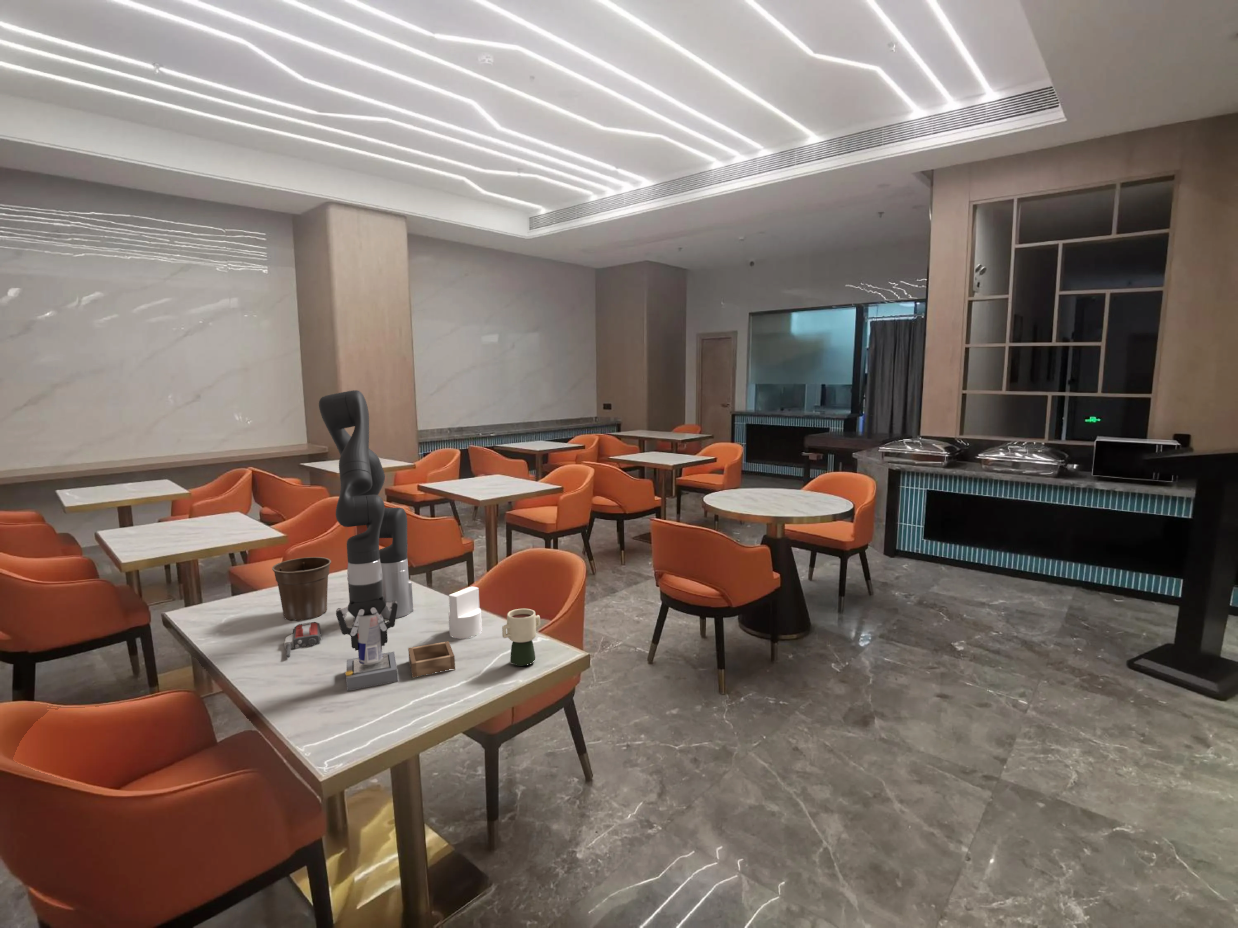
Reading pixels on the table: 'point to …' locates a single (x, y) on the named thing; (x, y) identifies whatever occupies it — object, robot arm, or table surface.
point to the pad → (371, 666)
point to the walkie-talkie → (303, 636)
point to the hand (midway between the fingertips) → (369, 646)
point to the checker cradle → (371, 675)
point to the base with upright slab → (465, 613)
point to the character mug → (521, 635)
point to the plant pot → (303, 587)
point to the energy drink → (369, 640)
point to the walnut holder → (431, 658)
